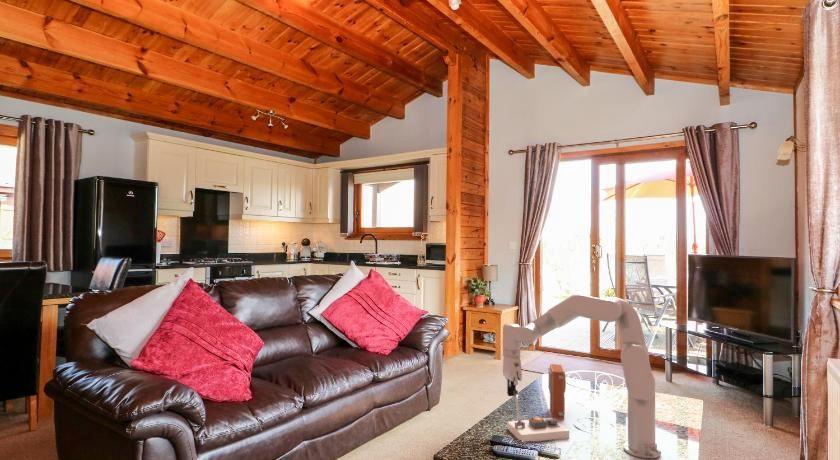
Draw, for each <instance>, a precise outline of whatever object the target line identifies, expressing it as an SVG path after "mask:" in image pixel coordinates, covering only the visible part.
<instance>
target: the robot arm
mask: <svg viewBox="0 0 840 460" xmlns="http://www.w3.org/2000/svg"><path fill="white" fill-rule="evenodd" d="M579 317H580V318H581V317H582V318H586V319H589V320H596V321H600V322H606V323H614V322H616V324H617V325H616V326H617V329H618V334H619V337H620V343H621V350H620V362H621V368H622V370H623V371H622V372H623V376H624V380H625V381H624V382H625V387H626V389H627V442H625V443H624V444H623V451H625V452H626V453H627V454H629V455H631V456H634V457H637V458H640V459H641V458H642V459H648V460H649V459H657V458H659V457H660V456H661V454H662V451H661V450H660V449H659V448H658V445H657V443H656V379H655V376H654V374H653V372H652V366H651V363H650V357H649V355H650V353H649V349H648V347H647V344H646V343H647V342H646V340H645V334H644V331H643V327H642V323H641V319H640V316H639V314H638V312H637V311H636V309H635V308H634V306H632V304H630V302H628V301H626V300H625V299H623V298H621V297H620V298H619V297H616V296H608V297H606V298H599V297H593V296H590V295H589V294H588V293H586V292H584V291H578V292H575V293H574V294H572V295H570V296H569V297H567V298H566V299H563V300H562V301H561V302H559V303H558V304H556V305H554V306H552V307H551V308H549V309H548V310H547V311H546V312H545V313H543V314H542V315H540V316H539V317H537V318H536V319H533V320H532V321H531V322H529V323H526V324H525V325H523V326H520V324H518V323H513V322H512V323H505V324H503V325H502V357H503V360H502V374H503V377H505V379H506V389H507V390H506V393H507V396H508V397H515V395H514V393H513V391H514V390H517V389H516V388H517V386H518V385H519V382H522V379H523V377H522V375H523V373H522V360H521V344H523V345H524V344H525V345H531V344H533V343H534V342H536V341H537V340H539V339H540V338H542V337H543V336H544V335H547V334H548V333H550V332H552V331H553V330H555V329H559V328H562V327H563V326H566V325H567V324H570V323H571V322H572V321H574V320H576V319H577V318H579Z"/></svg>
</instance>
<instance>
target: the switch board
mask: <svg viewBox="0 0 840 460" xmlns="http://www.w3.org/2000/svg"><path fill="white" fill-rule="evenodd" d="M538 417H539V418H542V417H540V416H538ZM533 418H534V417H529V418H528V419H524V420H522V419H521V422H523V426H518V423H517V422H518V420H513V421H512V420H511V421H510V420H509V421H507V423H506V424H507V425H506V427H507V430H508V431H509V432H510V433H511V434H512V435H513V436H514V437H515V438H516V439H517V440H518V441H520V440H521V441H531V442H530V443H532V441H533V442H540V441H541V442H542V441H551V440H552V439H553V440H561V439H563V440H564V439H569V438H570V430H569V429H568V428H566V427H565V426H564V425H563V424H562V423H560V422H558V423H553V424H550V423H548V420H547V419H553V418H552V417H545V418H542V422H534V421H533ZM555 420H558V421H559V419H555ZM553 440H552V441H553ZM521 441H520V442H521Z"/></svg>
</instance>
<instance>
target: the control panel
mask: <svg viewBox="0 0 840 460" xmlns="http://www.w3.org/2000/svg"><path fill="white" fill-rule="evenodd" d="M547 370H548V391H549V410H550V414H551V418H553V419H558V420H565V416H566V415H565V414H566V413H565V412H566V411H565V410H566V409H565V402H566V401H565V398H566V397H565V393H566V389H567V388H566V382H567V381H566V380H567V379H566V371H565V370H564V367H563V365H562V364H557V363H550V364H549V367H548V369H547Z"/></svg>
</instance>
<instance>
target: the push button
mask: <svg viewBox="0 0 840 460" xmlns="http://www.w3.org/2000/svg"><path fill="white" fill-rule="evenodd" d="M539 417H540V416H535V417H532V418H533V421H534V422H542V419H543V418H542V417H541V418H539Z"/></svg>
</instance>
